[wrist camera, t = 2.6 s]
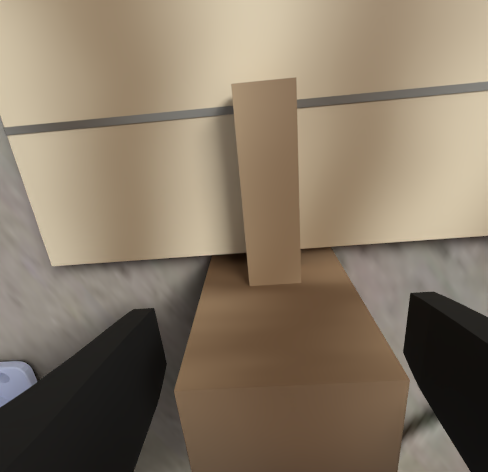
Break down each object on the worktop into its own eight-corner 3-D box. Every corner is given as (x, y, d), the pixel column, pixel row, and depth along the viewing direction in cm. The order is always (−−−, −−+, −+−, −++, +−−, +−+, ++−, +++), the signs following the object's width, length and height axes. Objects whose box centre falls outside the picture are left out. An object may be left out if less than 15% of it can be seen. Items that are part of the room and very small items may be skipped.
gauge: (222, 321, 12) (197, 499, 6) (192, 96, 9) (101, 67, 4) (327, 315, 12) (394, 493, 6) (329, 82, 9) (457, 31, 3)
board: (72, 250, 11) (51, 266, 10) (-22, -51, 8) (-68, -78, 7) (608, 212, 10) (654, 224, 9) (732, -146, 7) (825, -197, 6)
